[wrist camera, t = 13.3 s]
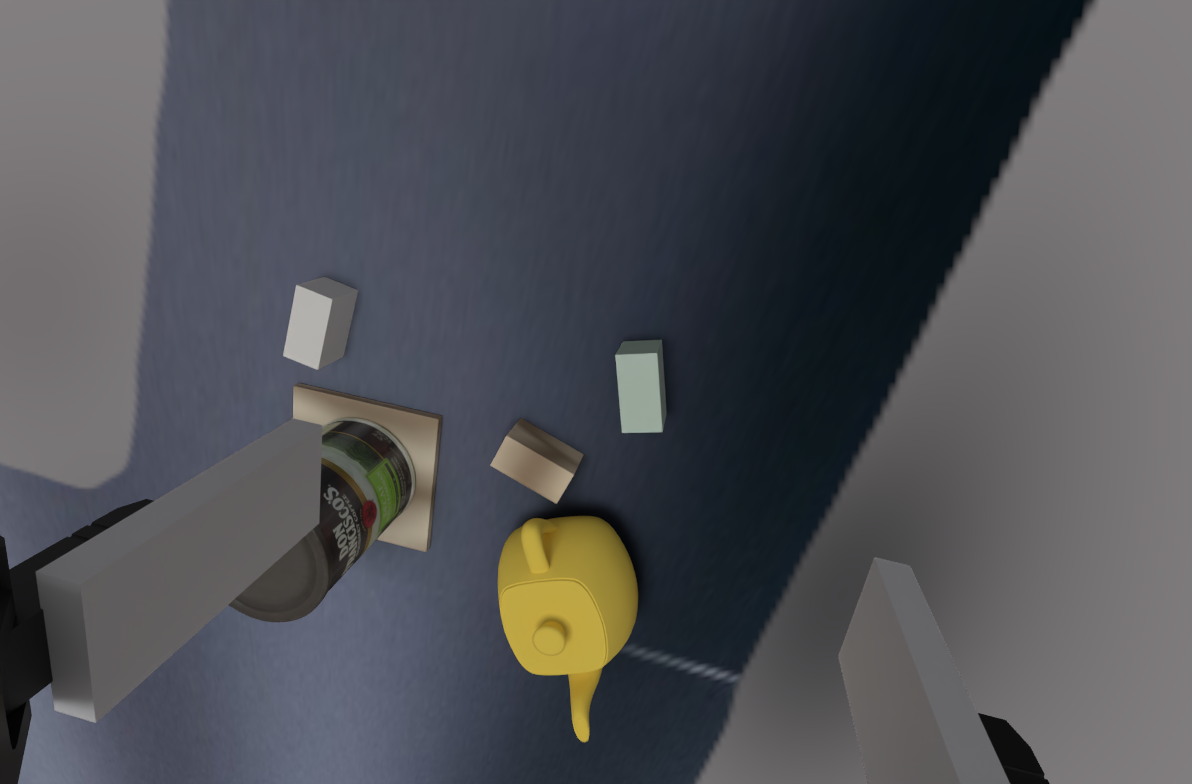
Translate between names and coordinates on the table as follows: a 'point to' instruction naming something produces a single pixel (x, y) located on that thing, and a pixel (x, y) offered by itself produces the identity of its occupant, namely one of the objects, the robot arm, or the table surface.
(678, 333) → the table surface
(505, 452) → the beech brick
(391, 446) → the coffee can
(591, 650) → the teapot
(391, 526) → the trivet
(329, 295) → the off-white brick
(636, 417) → the pale green brick
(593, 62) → the table surface
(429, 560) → the table surface
